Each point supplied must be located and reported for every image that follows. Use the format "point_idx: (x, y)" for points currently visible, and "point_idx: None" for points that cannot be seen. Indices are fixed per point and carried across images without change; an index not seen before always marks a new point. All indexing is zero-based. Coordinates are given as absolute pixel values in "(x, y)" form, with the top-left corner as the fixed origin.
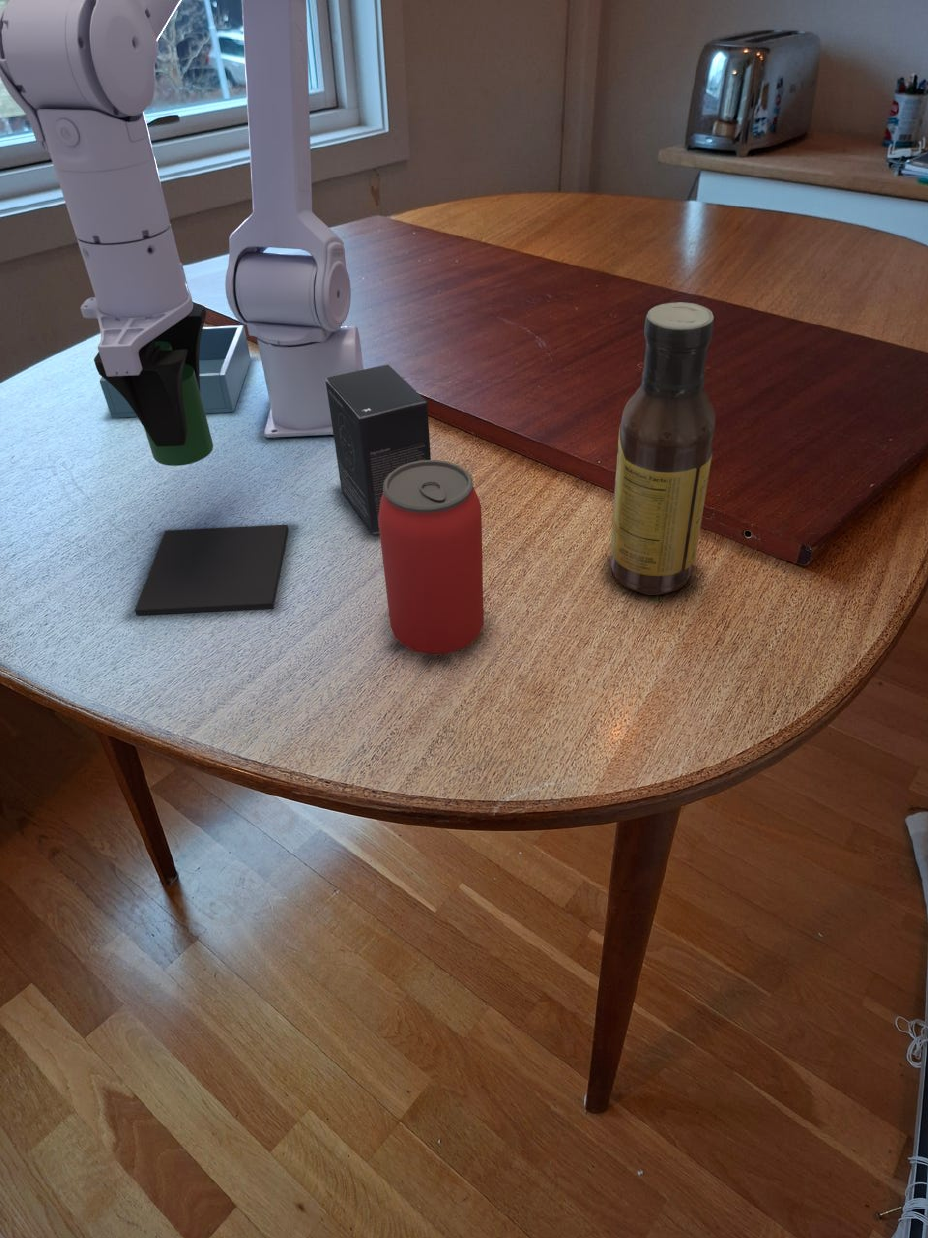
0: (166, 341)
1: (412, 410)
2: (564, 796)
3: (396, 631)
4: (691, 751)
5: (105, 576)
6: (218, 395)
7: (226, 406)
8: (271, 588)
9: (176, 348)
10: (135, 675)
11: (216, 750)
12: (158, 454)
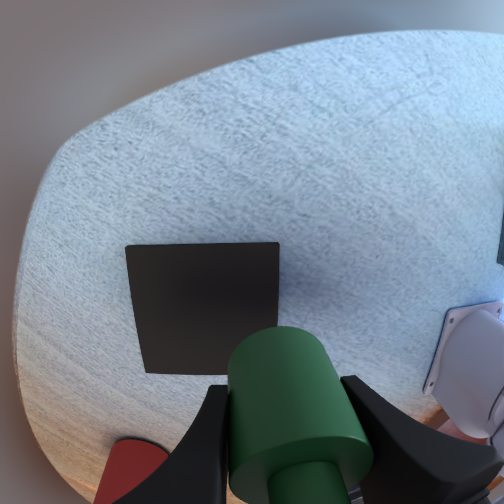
0: (388, 501)
1: None
2: (52, 464)
3: (117, 446)
4: (90, 498)
5: (197, 186)
6: None
7: (502, 258)
8: (166, 371)
9: (378, 495)
10: (55, 266)
11: (15, 336)
12: (235, 358)
